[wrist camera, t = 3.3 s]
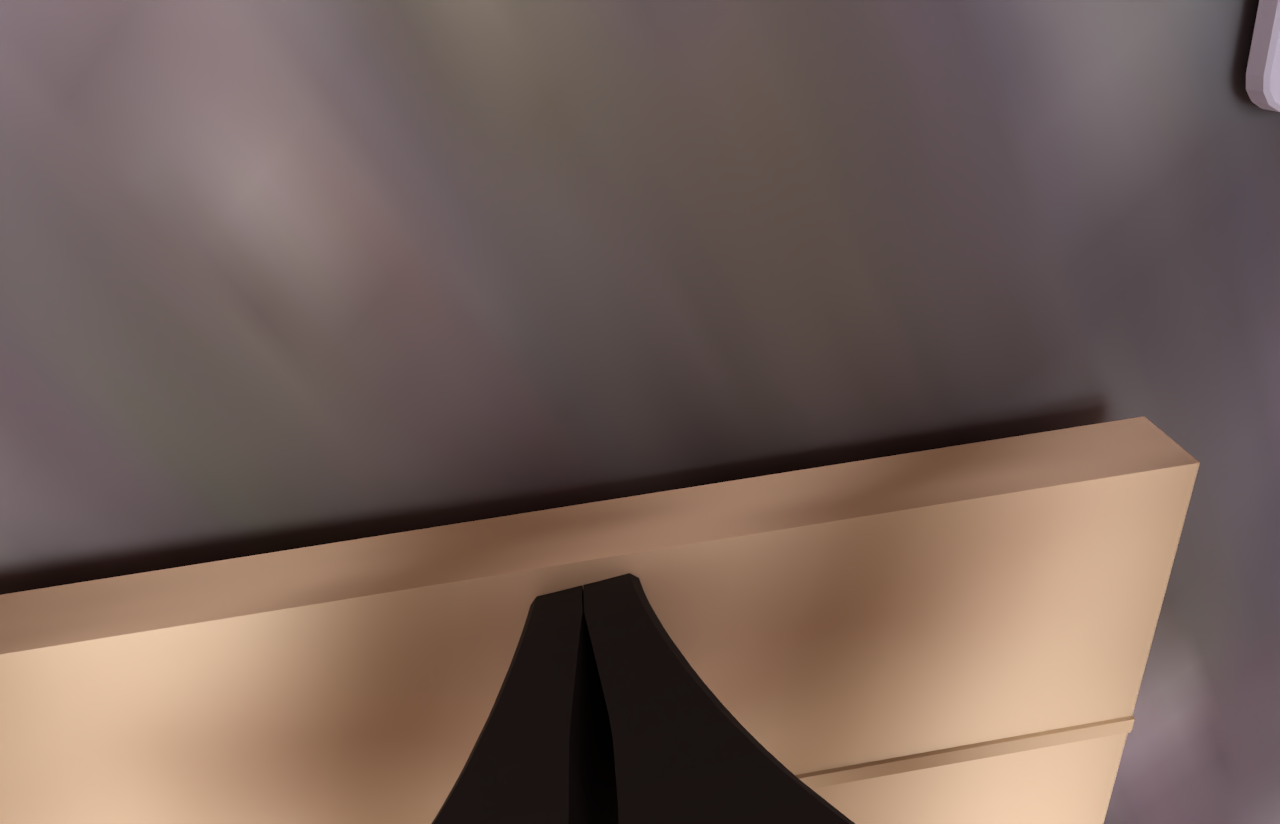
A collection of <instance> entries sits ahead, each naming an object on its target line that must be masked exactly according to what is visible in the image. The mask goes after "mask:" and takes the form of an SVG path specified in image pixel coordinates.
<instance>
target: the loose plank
mask: <svg viewBox="0 0 1280 824" xmlns="http://www.w3.org/2000/svg"><path fill="white" fill-rule="evenodd" d="M1199 464H1200V462H1199V461H1197V460H1196V459H1195V458H1194V457H1193V456H1191V455H1190V454H1189V453H1188V452H1187V451H1185V450H1184V449H1183V448H1182V447H1181V446H1179V445H1178V444H1177V443H1176V442H1175V441H1173V440H1172V439H1171V438H1170V437H1169V436H1167V435H1166V434H1165V433H1164V432H1163V431H1161V430H1160V429H1159V428H1158V427H1156V426H1155V425H1154V424H1153V423H1152V422H1150V421H1149V420H1148V419H1147V418H1146V417H1144V416H1143V417H1137V418H1130V419H1124V420H1117V421H1111V422H1105V423H1098V424H1092V425H1085V426H1079V427H1073V428H1066V429H1060V430H1053V431H1047V432H1040V433H1034V434H1028V435H1021V436H1015V437H1008V438H1002V439H996V440H989V441H983V442H976V443H970V444H964V445H957V446H951V447H944V448H938V449H931V450H925V451H919V452H912V453H906V454H899V455H893V456H887V457H880V458H874V459H867V460H861V461H855V462H848V463H842V464H835V465H829V466H823V467H816V468H810V469H803V470H797V471H790V472H784V473H778V474H771V475H765V476H758V477H752V478H746V479H739V480H733V481H726V482H720V483H714V484H707V485H701V486H694V487H688V488H681V489H675V490H669V491H662V492H656V493H649V494H643V495H637V496H630V497H624V498H617V499H611V500H605V501H598V502H592V503H585V504H579V505H573V506H566V507H560V508H553V509H547V510H540V511H534V512H528V513H521V514H515V515H508V516H502V517H496V518H489V519H483V520H476V521H470V522H464V523H457V524H451V525H444V526H438V527H432V528H425V529H419V530H412V531H406V532H399V533H393V534H387V535H380V536H374V537H367V538H361V539H355V540H348V541H342V542H335V543H329V544H323V545H316V546H310V547H303V548H297V549H290V550H284V551H278V552H271V553H265V554H258V555H252V556H246V557H239V558H233V559H226V560H220V561H214V562H207V563H201V564H194V565H188V566H182V567H175V568H169V569H162V570H156V571H149V572H143V573H137V574H130V575H124V576H117V577H111V578H105V579H98V580H92V581H85V582H79V583H73V584H66V585H60V586H53V587H47V588H41V589H34V590H28V591H21V592H15V593H8V594H2V595H0V824H432V822H433V820H434V819H435V817H436V815H437V814H438V812H439V810H440V809H441V807H442V805H443V804H444V802H445V800H446V798H447V797H448V795H449V793H450V791H451V790H452V788H453V786H454V784H455V782H456V781H457V779H458V777H459V775H460V773H461V771H462V769H463V768H464V766H465V764H466V762H467V760H468V758H469V755H470V753H471V751H472V749H473V747H474V745H475V743H476V741H477V739H478V737H479V735H480V733H481V731H482V729H483V727H484V725H485V723H486V721H487V719H488V716H489V714H490V712H491V710H492V707H493V705H494V703H495V700H496V698H497V696H498V693H499V691H500V688H501V686H502V683H503V681H504V679H505V676H506V674H507V671H508V669H509V667H510V664H511V661H512V659H513V656H514V653H515V650H516V648H517V645H518V642H519V639H520V637H521V634H522V631H523V628H524V625H525V621H526V618H527V615H528V612H529V608H530V605H531V604H532V602H533V601H534V599H535V598H536V596H540V595H545V594H549V593H553V592H557V591H561V590H565V589H569V588H573V587H577V586H581V585H582V587H583V590H584V585H585V584H589V583H593V582H597V581H601V580H605V579H609V578H613V577H616V576H620V575H624V574H628V573H630V574H632V575H634V576H636V577H638V578H639V579H640V582H641V585H642V587H643V590H644V592H645V595H646V597H647V599H648V601H649V603H650V605H651V607H652V608H653V610H654V612H655V614H656V615H657V617H658V619H659V620H660V622H661V624H662V625H663V627H664V628H665V630H666V632H667V633H668V635H669V636H670V638H671V639H672V640H673V642H674V643H675V645H676V646H677V647H678V649H679V650H680V652H681V653H682V654H683V656H684V657H685V658H686V660H687V661H688V663H689V664H690V665H691V667H692V668H693V669H694V670H695V672H696V673H697V674H698V676H699V677H700V678H701V679H702V681H703V682H704V683H705V684H706V685H707V687H708V688H709V689H710V690H711V691H712V692H713V694H714V695H715V696H716V697H717V698H718V699H719V701H720V702H721V703H722V704H723V705H724V706H725V707H726V709H727V710H728V711H729V712H730V713H731V714H732V715H733V716H734V717H735V718H736V719H737V720H738V722H739V723H740V724H741V725H742V726H743V727H744V728H745V729H746V730H747V731H748V732H749V733H750V734H751V735H752V736H753V737H754V738H755V739H756V740H757V741H758V742H759V743H760V744H761V745H762V746H763V747H764V748H765V749H766V750H767V751H769V752H770V753H771V754H772V755H773V756H774V757H775V758H776V759H777V760H778V761H780V762H781V763H782V764H783V765H784V766H785V767H786V768H787V769H788V770H789V771H790V772H792V773H793V774H794V775H795V776H796V777H797V778H798V779H800V780H801V781H802V782H803V783H805V784H806V785H807V786H808V787H810V788H811V789H812V790H813V791H815V792H816V793H817V794H818V795H820V796H821V797H822V798H823V799H825V800H826V801H827V802H828V803H830V804H831V805H832V806H834V807H835V808H836V809H837V810H839V811H840V812H841V813H842V814H844V815H845V816H846V817H847V818H849V819H850V820H851V821H852V822H854V823H855V824H1103V823H1104V819H1105V816H1106V812H1107V808H1108V804H1109V801H1110V797H1111V793H1112V789H1113V786H1114V782H1115V778H1116V775H1117V771H1118V767H1119V763H1120V760H1121V756H1122V752H1123V748H1124V745H1125V741H1126V737H1127V733H1128V732H1132V728H1133V724H1134V721H1135V719H1134V717H1133V716H1132V715H1133V711H1134V707H1135V703H1136V700H1137V696H1138V692H1139V689H1140V685H1141V681H1142V677H1143V674H1144V670H1145V666H1146V662H1147V659H1148V655H1149V651H1150V647H1151V644H1152V640H1153V636H1154V632H1155V629H1156V625H1157V621H1158V617H1159V614H1160V610H1161V606H1162V603H1163V599H1164V595H1165V591H1166V588H1167V584H1168V580H1169V576H1170V573H1171V569H1172V565H1173V561H1174V558H1175V554H1176V550H1177V546H1178V543H1179V539H1180V535H1181V531H1182V528H1183V524H1184V520H1185V517H1186V513H1187V509H1188V505H1189V502H1190V498H1191V494H1192V490H1193V487H1194V483H1195V479H1196V475H1197V472H1198V468H1199Z"/></svg>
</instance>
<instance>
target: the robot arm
mask: <svg viewBox="0 0 1280 824" xmlns="http://www.w3.org/2000/svg"><path fill="white" fill-rule="evenodd" d="M1246 91H1247V93H1248V95H1249V97H1250V100H1251V102H1253V103H1254V104H1256V105H1257V106H1258V107H1260V108H1261V109H1266V110H1271V111H1276V112H1280V0H1259V5H1258V10H1257V16H1256V21H1255V27H1254V32H1253V38H1252V43H1251V49H1250V54H1249V60H1248V65H1247V71H1246ZM432 824H855V823H854V822H852V821H851V820H850V819H849V818H847V817H846V816H845V815H844V814H842V813H841V812H840V811H839V810H837V809H836V808H835V807H834V806H832V805H831V804H830V803H828V802H827V801H826V800H825V799H823V798H822V797H821V796H820V795H818V794H817V793H816V792H815V791H813V790H812V789H811V788H810V787H808V786H807V785H806V784H805V783H803V782H802V781H801V780H800V779H798V778H797V777H796V776H795V775H794V774H793V773H792V772H790V771H789V770H788V769H787V768H786V767H785V766H784V765H783V764H782V763H781V762H780V761H778V760H777V759H776V758H775V757H774V756H773V755H772V754H771V753H770V752H769V751H767V750H766V749H765V748H764V747H763V746H762V745H761V744H760V743H759V742H758V741H757V740H756V739H755V738H754V737H753V736H752V735H751V734H750V733H749V732H748V731H747V730H746V729H745V728H744V727H743V726H742V725H741V724H740V723H739V722H738V720H737V719H736V718H735V717H734V716H733V715H732V714H731V713H730V712H729V711H728V710H727V709H726V707H725V706H724V705H723V704H722V703H721V702H720V701H719V699H718V698H717V697H716V696H715V695H714V694H713V692H712V691H711V690H710V689H709V688H708V687H707V685H706V684H705V683H704V682H703V681H702V679H701V678H700V677H699V676H698V674H697V673H696V672H695V670H694V669H693V668H692V667H691V665H690V664H689V663H688V661H687V660H686V658H685V657H684V656H683V654H682V653H681V652H680V650H679V649H678V647H677V646H676V645H675V643H674V642H673V640H672V639H671V638H670V636H669V635H668V633H667V632H666V630H665V628H664V627H663V625H662V624H661V622H660V620H659V619H658V617H657V615H656V614H655V612H654V610H653V608H652V607H651V605H650V603H649V601H648V599H647V597H646V595H645V592H644V590H643V587H642V585H641V582H640V579H639V578H638V577H636V576H634V575H632V574H630V573H628V574H624V575H620V576H616V577H613V578H609V579H605V580H601V581H597V582H593V583H589V584H585V585H584V590H583V587H582V585H581V586H577V587H573V588H569V589H565V590H561V591H557V592H553V593H549V594H545V595H540V596H536V598H535V599H534V601H533V602H532V604H531V605H530V608H529V612H528V615H527V618H526V621H525V625H524V628H523V631H522V634H521V637H520V639H519V642H518V645H517V648H516V650H515V653H514V656H513V659H512V661H511V664H510V667H509V669H508V671H507V674H506V676H505V679H504V681H503V683H502V686H501V688H500V691H499V693H498V696H497V698H496V700H495V703H494V705H493V707H492V710H491V712H490V714H489V716H488V719H487V721H486V723H485V725H484V727H483V729H482V731H481V733H480V735H479V737H478V739H477V741H476V743H475V745H474V747H473V749H472V751H471V753H470V755H469V758H468V760H467V762H466V764H465V766H464V768H463V769H462V771H461V773H460V775H459V777H458V779H457V781H456V782H455V784H454V786H453V788H452V790H451V791H450V793H449V795H448V797H447V798H446V800H445V802H444V804H443V805H442V807H441V809H440V810H439V812H438V814H437V815H436V817H435V819H434V820H433V822H432Z"/></svg>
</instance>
